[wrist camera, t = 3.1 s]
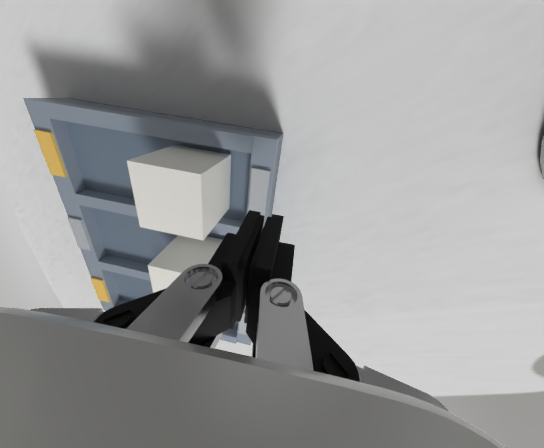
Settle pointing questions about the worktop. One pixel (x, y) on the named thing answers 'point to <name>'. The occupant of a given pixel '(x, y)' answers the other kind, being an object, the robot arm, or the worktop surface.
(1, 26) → the worktop surface
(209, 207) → the tab
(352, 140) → the worktop surface
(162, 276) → the tab
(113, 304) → the switch bank
